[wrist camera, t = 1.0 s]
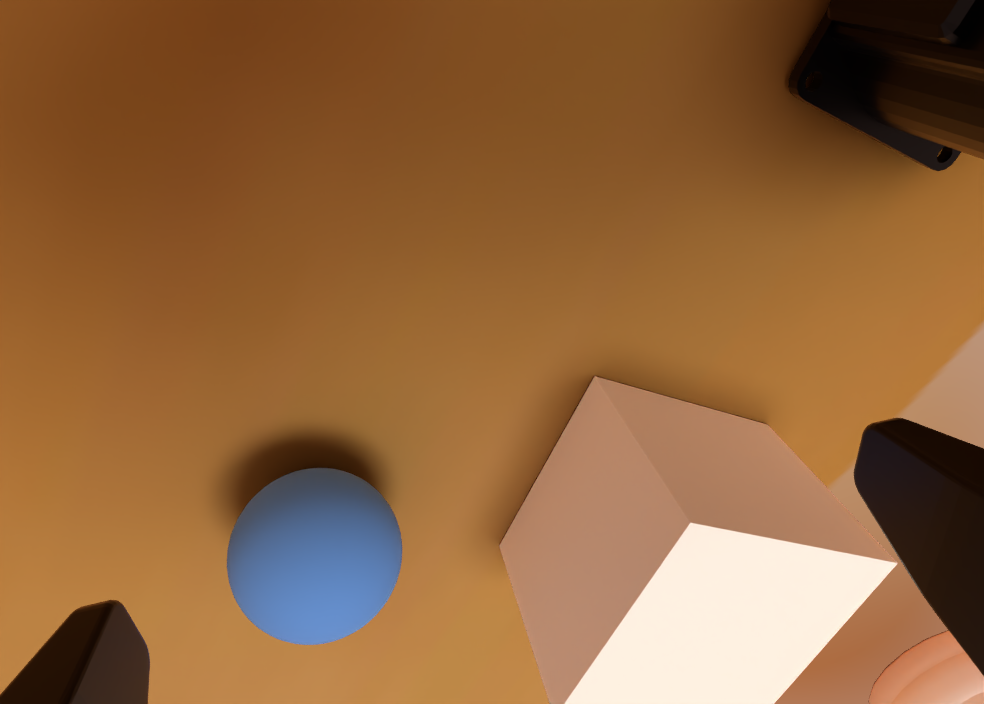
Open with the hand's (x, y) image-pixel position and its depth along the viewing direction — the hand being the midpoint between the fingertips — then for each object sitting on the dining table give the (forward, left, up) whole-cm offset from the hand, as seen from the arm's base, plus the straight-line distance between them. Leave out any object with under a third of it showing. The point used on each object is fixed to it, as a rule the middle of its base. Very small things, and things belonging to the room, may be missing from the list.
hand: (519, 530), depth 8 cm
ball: (-1, +10, -10) cm, 14 cm away
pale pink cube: (-12, +7, -12) cm, 19 cm away
